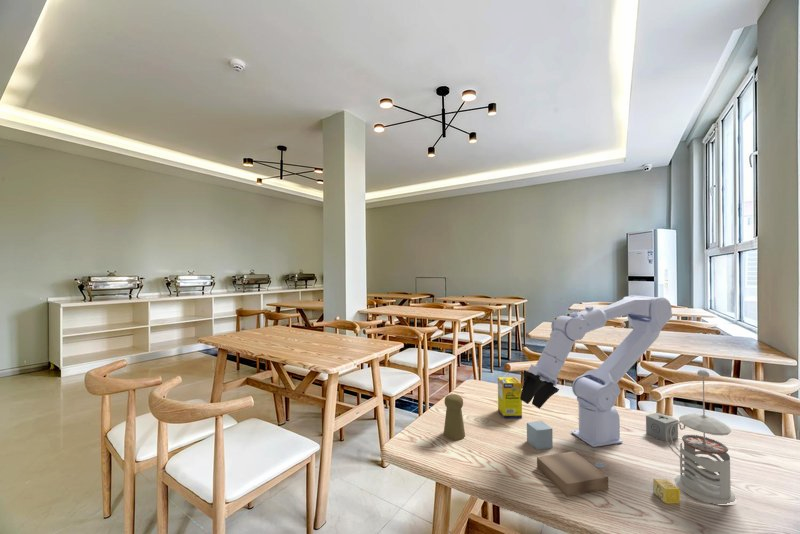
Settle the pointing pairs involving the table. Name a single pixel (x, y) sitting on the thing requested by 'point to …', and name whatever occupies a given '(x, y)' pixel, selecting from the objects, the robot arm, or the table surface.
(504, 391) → the supplement box
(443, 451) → the table surface
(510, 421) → the table surface
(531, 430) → the slate block
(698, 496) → the french press
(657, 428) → the dice cube
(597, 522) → the table surface
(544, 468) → the walnut block
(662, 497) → the alphabet block
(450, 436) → the olive pawn
